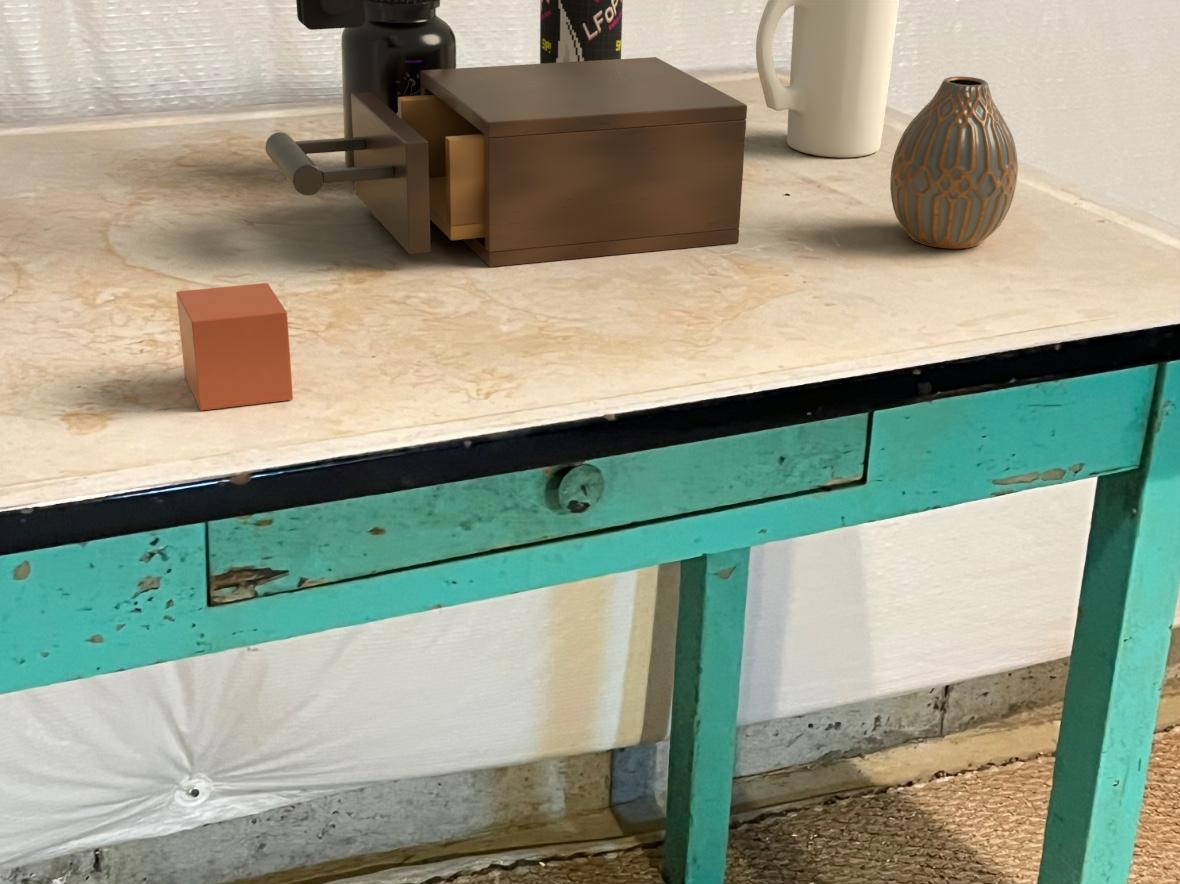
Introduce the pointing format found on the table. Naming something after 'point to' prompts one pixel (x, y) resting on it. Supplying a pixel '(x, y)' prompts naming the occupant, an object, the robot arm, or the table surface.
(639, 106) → the cabinet
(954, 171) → the vase
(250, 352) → the block
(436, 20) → the supplement bottle
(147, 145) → the table surface
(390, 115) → the drawer
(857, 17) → the mug
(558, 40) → the beverage can
